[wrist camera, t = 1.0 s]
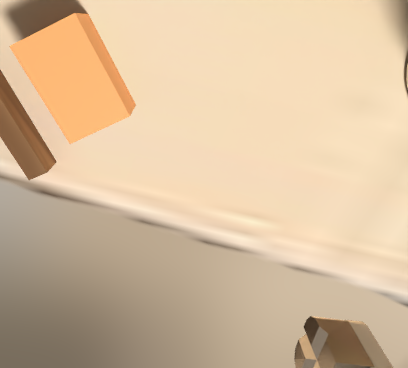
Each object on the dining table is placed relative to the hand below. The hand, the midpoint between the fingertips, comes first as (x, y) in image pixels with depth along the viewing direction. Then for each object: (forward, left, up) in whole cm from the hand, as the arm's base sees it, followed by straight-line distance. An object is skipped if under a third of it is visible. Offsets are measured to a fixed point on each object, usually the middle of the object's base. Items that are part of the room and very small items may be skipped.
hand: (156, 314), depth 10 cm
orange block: (+7, -5, -30) cm, 32 cm away
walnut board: (+15, -5, -30) cm, 34 cm away
